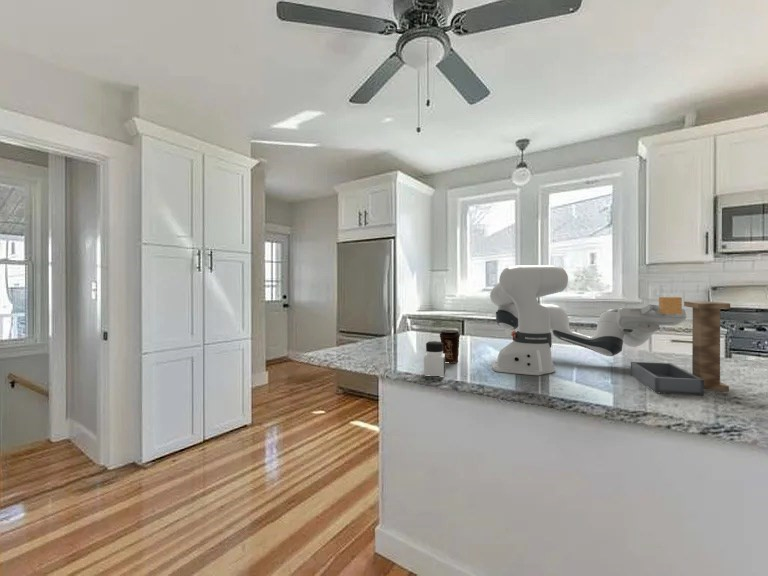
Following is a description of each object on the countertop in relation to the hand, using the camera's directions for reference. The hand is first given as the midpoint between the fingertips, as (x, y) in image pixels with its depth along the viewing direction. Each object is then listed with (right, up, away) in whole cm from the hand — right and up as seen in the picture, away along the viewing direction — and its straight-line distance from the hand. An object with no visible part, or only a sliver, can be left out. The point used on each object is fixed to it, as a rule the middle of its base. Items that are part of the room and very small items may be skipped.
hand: (657, 306), depth 131 cm
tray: (-3, -24, -7) cm, 26 cm away
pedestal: (+8, -24, -11) cm, 27 cm away
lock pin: (-1, -2, -4) cm, 4 cm away
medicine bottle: (-73, -25, +10) cm, 78 cm away
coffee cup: (-64, -25, +30) cm, 75 cm away
